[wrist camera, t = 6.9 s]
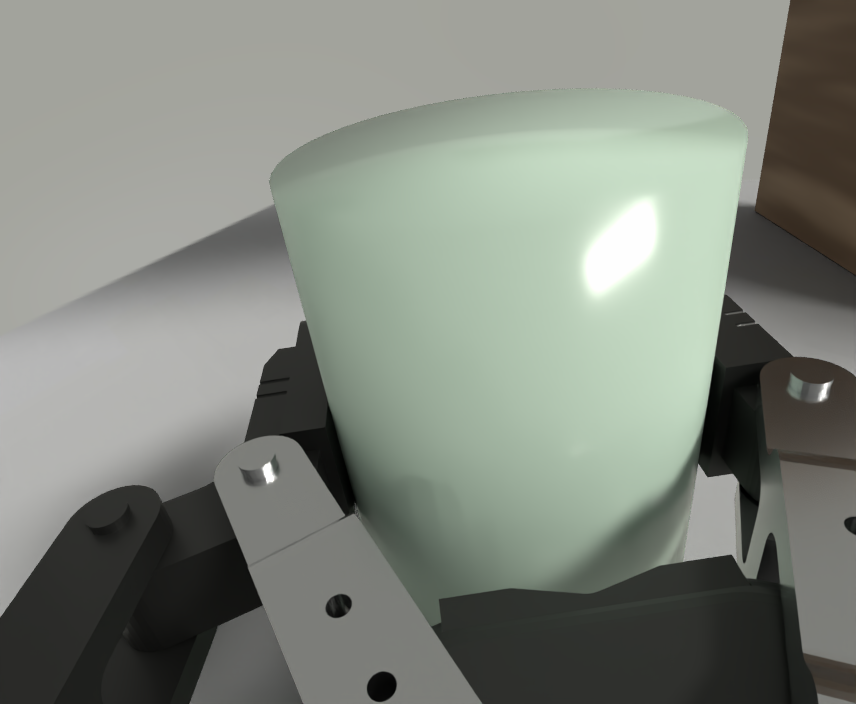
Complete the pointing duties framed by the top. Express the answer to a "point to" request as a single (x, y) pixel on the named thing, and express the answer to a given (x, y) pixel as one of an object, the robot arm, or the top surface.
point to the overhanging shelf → (815, 131)
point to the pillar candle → (518, 327)
